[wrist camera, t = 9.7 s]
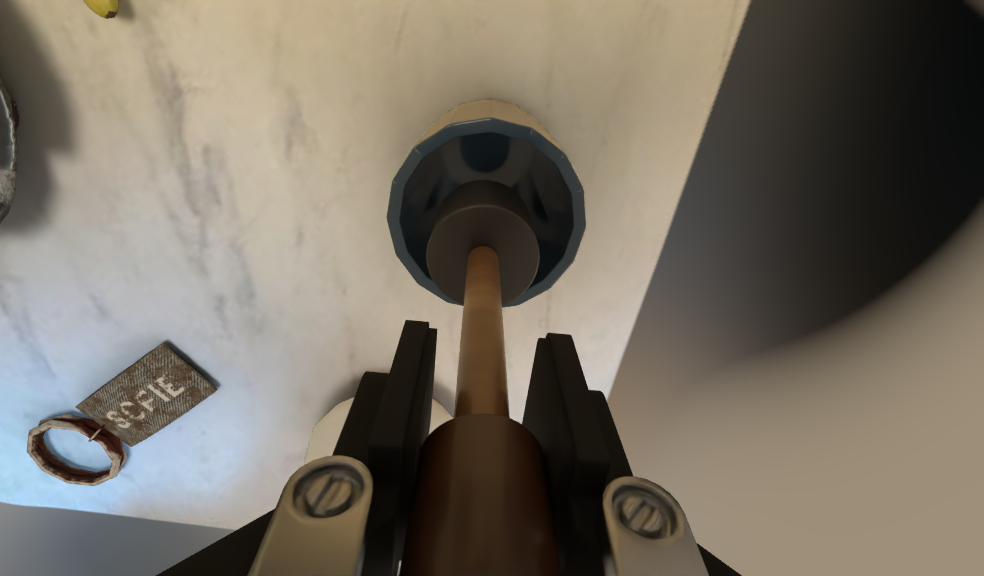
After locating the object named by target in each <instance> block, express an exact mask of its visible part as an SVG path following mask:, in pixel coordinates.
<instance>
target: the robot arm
mask: <svg viewBox="0 0 984 576" xmlns="http://www.w3.org/2000/svg"><path fill="white" fill-rule="evenodd" d="M436 341H437V329H434V328H429V322H423V321H412V320H406V321H405V324H404V327H403V331H402V334H401V337H400V340H399V344H398V347H397V350H396V353H395V357H394V360H393V363H392V367H391V370H390V373H379V372H367V371H366V372H365V373H364V375H363V377H362V379H361V382H360V384H359V387H358V389H357V392H356V395H355V397H354V400H353V402H352V405H351V407H350V410H349V413H348V415H347V418H346V420H345V423H344V426H343V428H342V431H341V433H340V436H339V438H338V441H337V444H336V446H335V449H334V451H333V454H332V456H325V457H322V458H319V459H315V460H312V461H311V462H309V463H307V464H305V465H304V466H302V467H300V468H299V469H298V470H297V471H296V472H295V473H294V474H293V475H292V476H291V477H290V478H289V480H288V482H287V483H286V485H285V487H284V489H283V491H282V494H281V496H280V499H279V501H278V503H277V506H276V508H275V509H274V510H272V511H270V512H268V513H266V514H265V515H263V516H261V517H259V518H258V519H256V520H254V521H252V522H250V523H249V524H247V525H245V526H243V527H242V528H240V529H238V530H236V531H234V532H233V533H231V534H229V535H227V536H226V537H224V538H222V539H220V540H218V541H217V542H215V543H213V544H211V545H210V546H208V547H206V548H204V549H202V550H201V551H199V552H197V553H195V554H194V555H192V556H190V557H188V558H186V559H185V560H183V561H181V562H179V563H178V564H176V565H174V566H173V567H171V568H169V569H167V570H165V571H163V572H162V573H160V574H158V575H156V576H397V573H398V567H399V561H401V560H402V554H403V548H404V542H405V536H406V530H407V524H408V518H409V512H410V506H411V503H412V501H413V495H414V489H415V483H416V477H417V471H418V465H419V458H420V452H421V447H422V445H423V443H424V441H425V440H426V438H427V437H428V436H429V430H430V422H431V410H432V396H433V382H434V369H435V355H436ZM522 425H523V426H525V427H526V428H527V429H528V430H529V431H531V433H532V434H533V435H534V436H535V437H536V438H537V440H538V442H539V443H540V445H541V448H542V451H543V455H544V461H545V468H546V475H547V482H548V488H549V495H550V502H551V508H552V515H553V522H554V529H555V535H556V542H557V549H558V555H559V562H560V569H561V576H741V575H740V574H739V573H737V572H736V571H735V570H733V569H732V568H730V567H729V566H727V565H726V564H725V563H723V562H722V561H721V560H719V559H718V558H716V557H715V556H714V555H712V554H711V553H710V552H708V551H707V550H706V549H704V548H703V547H701V546H700V545H699V544H697V543H696V541H695V539H694V536H693V533H692V531H691V528H690V526H689V523H688V521H687V518H686V516H685V513H684V511H683V510H682V508H681V506H680V504H679V503H678V502H677V500H675V498H674V497H673V496H672V495H671V494H670V493H669V492H668V491H666V490H665V489H663V488H662V487H661V486H659V485H658V484H656V483H653V482H651V481H649V480H647V479H643V478H639V477H634V476H633V474H632V471H631V469H630V466H629V463H628V460H627V458H626V454H625V452H624V449H623V446H622V443H621V440H620V438H619V435H618V432H617V429H616V426H615V424H614V421H613V418H612V415H611V412H610V410H609V407H608V404H607V401H606V398H605V396H604V394H603V393H602V392H601V391H595V390H588V387H587V384H586V380H585V377H584V374H583V371H582V368H581V364H580V361H579V358H578V355H577V352H576V349H575V345H574V342H573V339H572V336H571V335H567V334H556V333H548V334H547V335H546V338H539V339H538V342H537V346H536V352H535V357H534V363H533V368H532V373H531V379H530V384H529V390H528V395H527V400H526V406H525V411H524V417H523V422H522Z"/></svg>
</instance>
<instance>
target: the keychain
mask: <svg viewBox="0 0 984 576" xmlns="http://www.w3.org/2000/svg"><path fill="white" fill-rule="evenodd" d="M215 391H217V388H216V387H215V386H213V385H212V384H211V383H210V382H209V381H207V380H206V379H205V378H204V377H203V376H202V375H200V374H199V373H198V372H197V371H196V370H194V369H193V368H192V367H191V366H190V365H188V364H187V363H186V362H185V361H184V360H183V359H181V358H180V357H179V356H178V355H177V354H175V353H174V352H173V351H172V350H171V349H169V348H168V347H167V346H166V345H165V344H161V345H160V346H158V347H157V348H155V349H154V350H152V351H151V352H150V353H148V354H147V355H145V356H144V357H142V358H141V359H140V360H138V361H137V362H136V363H134V364H133V365H131V366H130V367H129V368H127V369H126V370H124V371H123V372H122V373H120V374H119V375H118V376H116V377H115V378H114V379H112V380H111V381H109V382H108V383H107V384H105V385H104V386H103V387H101V388H100V389H99V390H97V391H96V392H95V393H93V394H92V395H91V396H89V397H88V398H87V399H85V400H84V401H83V402H81V403H80V404H79V405H77V406H76V408H77V409H79V410H80V411H81V412H83V413H84V414H86V415H87V416H88V417H90V418H91V419H93V420H91V419H87V418H83V417H79V416H75V415H70V414H65V415H61V416H57V417H53V418H50V419H46V420H42V421H40V423H39V425H38V426H37V427H35V428H33V429H31V430H30V431H29V434H28V444H27V453H28V454H29V455H30V456H31V458H32V459H33V460H34V461H35V462H36V464H37V465H38V466H39V467H40V469H41V470H42V471H44V472H46V473H48V474H50V475H52V476H54V477H56V478H58V479H60V480H62V481H64V482H66V483H70V484H80V485H90V486H95V485H98V484H100V483H103V482H105V481H107V480H109V479H112V478H114V477H116V476H117V475H118V473H119V471H120V470H121V468H122V466H123V464H124V463H125V461H126V459H127V454H126V452H125V450H124V448H123V445H122V443H121V441H120V439H121V440H122V441H123V442H125V443H126V444H127V445H129V446H130V447H132V446H134V445H136V444H138V443H139V442H141V441H143V440H145V439H147V438H148V437H150V436H151V435H153V434H154V433H156V432H158V431H159V430H161V429H162V428H164V427H165V426H167V425H168V424H170V423H171V422H173V421H174V420H176V419H177V418H179V417H180V416H182V415H183V414H185V413H186V412H188V411H189V410H191V409H192V408H193V407H195V406H196V405H198V404H199V403H200V402H202V401H203V400H204V399H206V398H207V397H209V396H210V395H211V394H213V393H214V392H215ZM51 428H57V429H66V430H75V431H78V432H80V433H81V434H83V435H85V436H87V437H89V438H90V439H89V442H91V441H92V440H94V441H96V442H98V443H100V444H101V446H102V447H103V449H104V450H105V451H106V453H107V454H108V456H109V457H110V458H111V460H112V463H111V468H110V469H109V470H104V471H100V472H92V471H87V470H83V469H78V468H74V467H71V466H70V465H68V464H67V463H65V462H63V461H62V460H60V459H59V458H57V457H56V456H54V455H53V454H51V452H50V450H49V448H48V446H47V444H46V442H45V440H44V438H43V435H44V433H45V431H47V430H49V429H51Z"/></svg>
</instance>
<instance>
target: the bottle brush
mask: <svg viewBox="0 0 984 576" xmlns="http://www.w3.org/2000/svg"><path fill="white" fill-rule="evenodd" d="M426 256H427V266H428V270H429V273H430V276H431V278H432V280H433V281H434V283H435V285H436V286H437V287H438V288H439V290H440V291H441V292H442V293H443V294H444V295H446V296H447V297H448V298H450V299H451V300H453V301H455V302H456V303H458V304H461V305H463V306H464V307H463V318H462V330H461V341H460V353H459V364H458V376H457V387H456V399H455V410H454V418H453V419H451V420H448V421H446V422H445V423H443V424H441V425H440V426H438V427H437V428H436V429H434V430H433V431H432V432H431V433H430V434H429V436H428V437H427V438H426V440H425V441H424V443H423V445H422V447H421V452H420V458H419V465H418V471H417V477H416V483H415V489H414V495H413V501H412V503H411V506H410V512H409V518H408V524H407V530H406V536H405V542H404V548H403V554H402V560H401V566H400V572H399V576H561V569H560V562H559V555H558V549H557V542H556V535H555V529H554V522H553V515H552V508H551V502H550V495H549V488H548V482H547V475H546V468H545V461H544V455H543V451H542V448H541V445H540V443H539V442H538V440H537V438H536V437H535V436H534V435H533V434H532V433H531V431H529V430H528V429H527V428H526V427H525V426H523V425H522V424H520V423H519V422H516V421H514V420H512V419H510V417H509V403H508V388H507V374H506V359H505V345H504V330H503V316H502V306H503V305H506V304H508V303H510V302H512V301H514V300H515V299H517V298H518V297H519V296H521V295H522V294H523V293H524V292H525V291H526V290H527V289H528V287H529V286H530V285H531V283H532V282H533V280H534V278H535V276H536V273H537V270H538V266H539V259H540V256H539V247H538V242H537V239H536V235H535V232H534V229H533V225H532V222H531V218H530V215H529V212H528V209H527V207H526V205H525V203H524V201H523V200H522V198H521V197H520V196H519V195H518V194H517V193H516V192H515V191H514V190H512V189H511V188H509V187H508V186H506V185H504V184H502V183H499V182H496V181H491V180H475V181H471V182H467V183H465V184H462V185H460V186H458V187H457V188H455V189H454V190H453V191H451V192H450V193H449V194H448V195H447V197H446V198H445V199H444V200H443V202H442V204H441V205H440V208H439V210H438V213H437V216H436V220H435V223H434V226H433V229H432V232H431V236H430V239H429V242H428V246H427V253H426Z"/></svg>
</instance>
